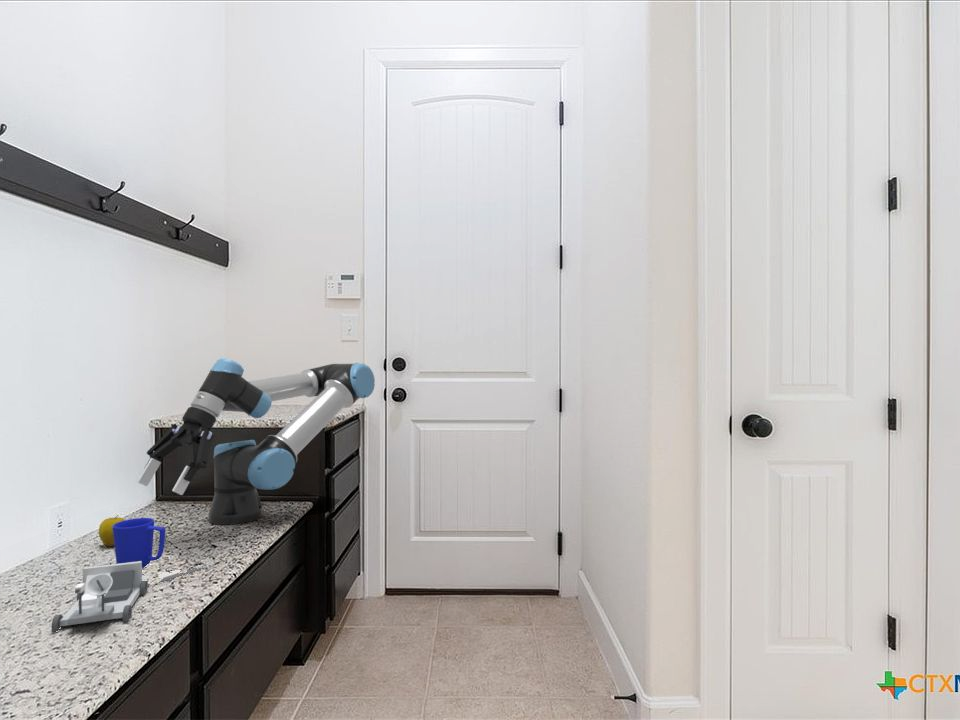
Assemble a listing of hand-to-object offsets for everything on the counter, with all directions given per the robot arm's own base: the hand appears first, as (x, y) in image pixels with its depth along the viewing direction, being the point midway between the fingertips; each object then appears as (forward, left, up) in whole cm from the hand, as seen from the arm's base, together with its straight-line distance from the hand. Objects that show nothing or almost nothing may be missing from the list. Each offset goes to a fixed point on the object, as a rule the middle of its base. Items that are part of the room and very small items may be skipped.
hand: (159, 488), depth 138 cm
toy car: (+23, +25, -17) cm, 38 cm away
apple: (+3, -18, -16) cm, 24 cm away
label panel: (+7, +10, -16) cm, 20 cm away
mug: (+7, +6, -16) cm, 18 cm away
